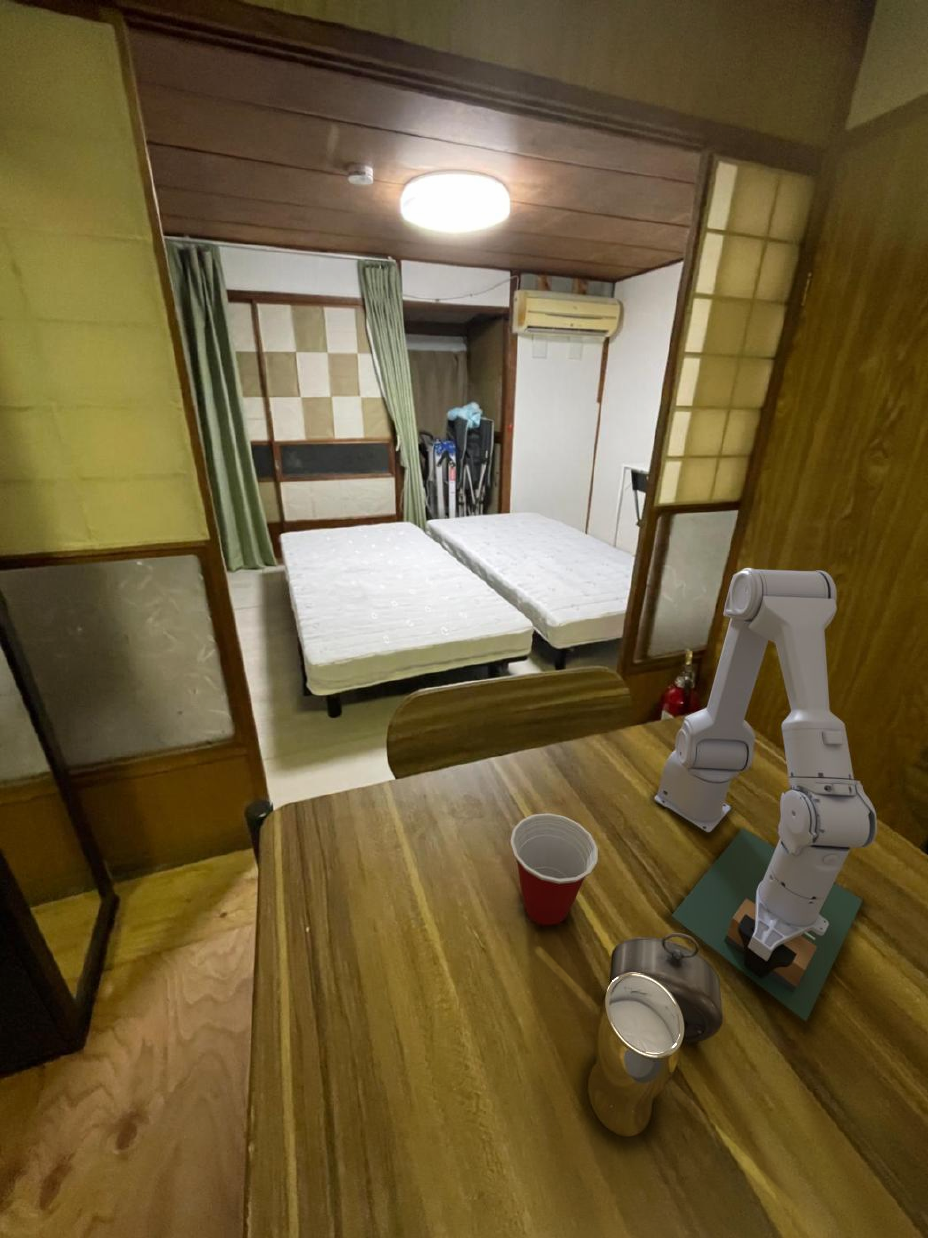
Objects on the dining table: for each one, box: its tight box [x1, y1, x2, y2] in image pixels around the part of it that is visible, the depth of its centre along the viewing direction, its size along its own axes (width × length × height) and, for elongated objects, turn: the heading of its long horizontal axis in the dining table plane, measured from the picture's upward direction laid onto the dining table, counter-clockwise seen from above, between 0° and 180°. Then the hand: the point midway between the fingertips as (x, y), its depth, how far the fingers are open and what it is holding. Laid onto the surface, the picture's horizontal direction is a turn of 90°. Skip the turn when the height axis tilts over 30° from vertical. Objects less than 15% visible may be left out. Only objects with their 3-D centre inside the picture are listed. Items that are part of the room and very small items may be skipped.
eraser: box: [724, 898, 817, 993], centre depth 62 cm, size 8×4×4 cm, turn 41°
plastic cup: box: [510, 812, 599, 927], centre depth 66 cm, size 11×11×12 cm
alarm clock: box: [608, 932, 724, 1043], centre depth 53 cm, size 11×5×16 cm, turn 71°
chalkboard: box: [671, 827, 864, 1022], centre depth 69 cm, size 16×22×1 cm
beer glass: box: [587, 972, 684, 1137], centre depth 48 cm, size 7×7×15 cm
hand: (765, 951), depth 63 cm, fingers open, 6 cm apart
